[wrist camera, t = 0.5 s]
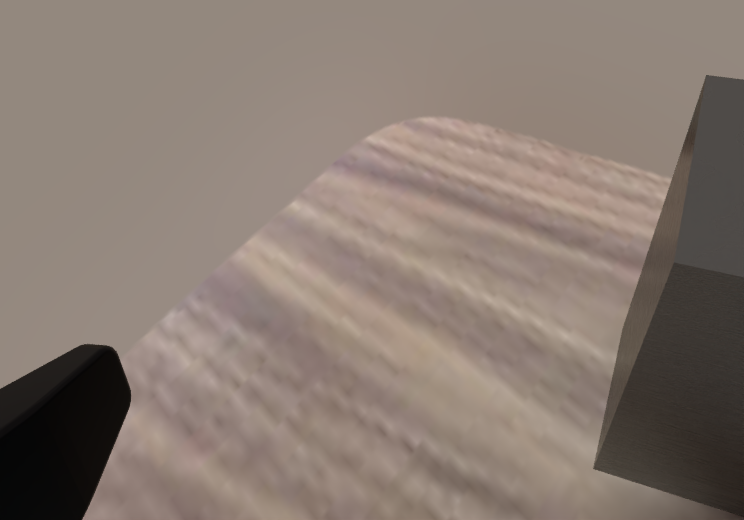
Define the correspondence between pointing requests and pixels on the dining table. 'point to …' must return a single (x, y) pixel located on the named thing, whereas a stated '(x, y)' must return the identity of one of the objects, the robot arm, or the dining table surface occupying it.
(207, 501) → the dining table surface
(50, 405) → the robot arm
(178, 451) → the dining table surface
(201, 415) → the dining table surface
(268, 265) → the dining table surface
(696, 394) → the lock block
